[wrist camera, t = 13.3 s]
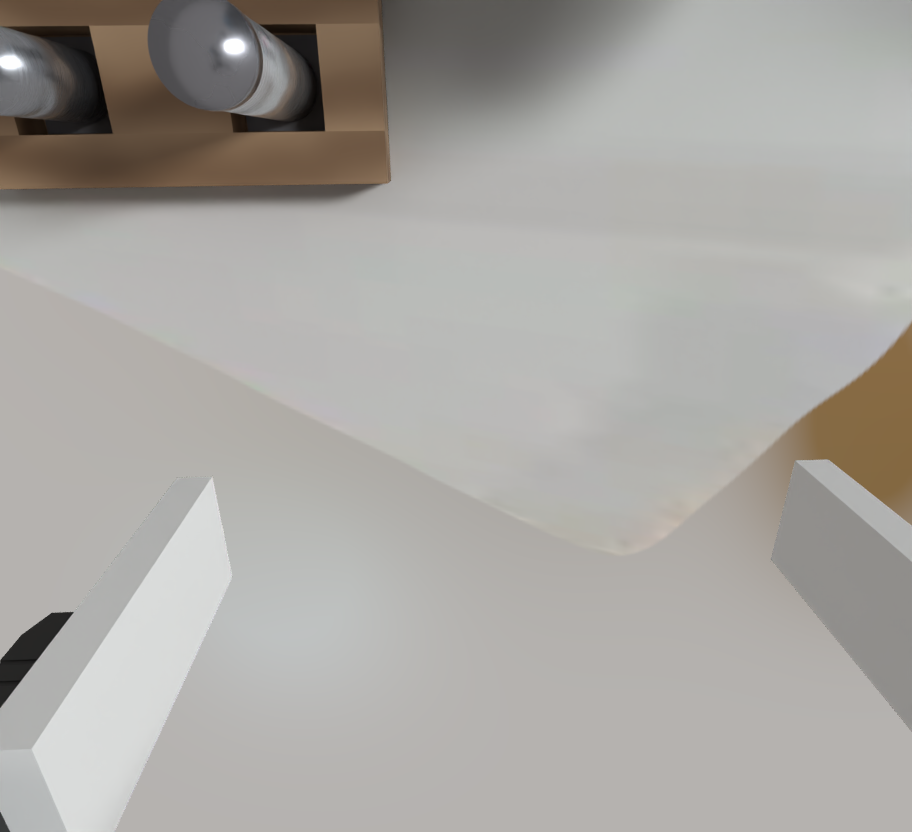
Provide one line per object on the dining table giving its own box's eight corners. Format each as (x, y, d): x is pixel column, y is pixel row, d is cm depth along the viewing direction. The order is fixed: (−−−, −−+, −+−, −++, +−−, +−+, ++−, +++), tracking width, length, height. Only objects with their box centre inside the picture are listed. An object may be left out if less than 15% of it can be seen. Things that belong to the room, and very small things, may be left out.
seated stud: (36, 47, 32) (-84, 14, 25) (105, 48, 32) (6, 17, 25) (53, 122, 33) (-56, 113, 26) (119, 124, 34) (29, 115, 26)
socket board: (-51, -22, 31) (-98, -39, 28) (380, -25, 32) (375, -41, 29) (10, 186, 35) (-26, 189, 32) (390, 180, 36) (387, 183, 33)
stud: (245, 46, 32) (136, -12, 20) (315, 45, 32) (247, -13, 21) (255, 123, 34) (160, 110, 22) (322, 122, 34) (263, 109, 22)
